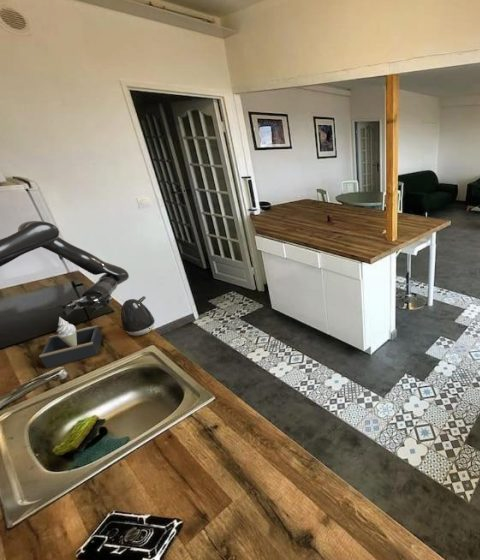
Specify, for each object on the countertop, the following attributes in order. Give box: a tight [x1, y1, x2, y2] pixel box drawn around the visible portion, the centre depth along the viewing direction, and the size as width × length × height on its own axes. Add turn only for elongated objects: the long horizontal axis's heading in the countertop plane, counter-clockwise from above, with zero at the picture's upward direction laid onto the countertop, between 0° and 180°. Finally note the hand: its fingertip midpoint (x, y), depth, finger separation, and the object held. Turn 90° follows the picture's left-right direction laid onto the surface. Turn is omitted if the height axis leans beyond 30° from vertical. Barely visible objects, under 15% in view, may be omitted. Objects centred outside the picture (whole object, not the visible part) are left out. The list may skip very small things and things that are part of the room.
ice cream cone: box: [55, 316, 78, 347], centre depth 112 cm, size 5×5×15 cm
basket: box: [38, 325, 103, 369], centre depth 115 cm, size 14×14×5 cm
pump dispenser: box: [120, 296, 156, 337], centre depth 124 cm, size 10×10×15 cm
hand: (78, 311), depth 120 cm, fingers open, 8 cm apart
